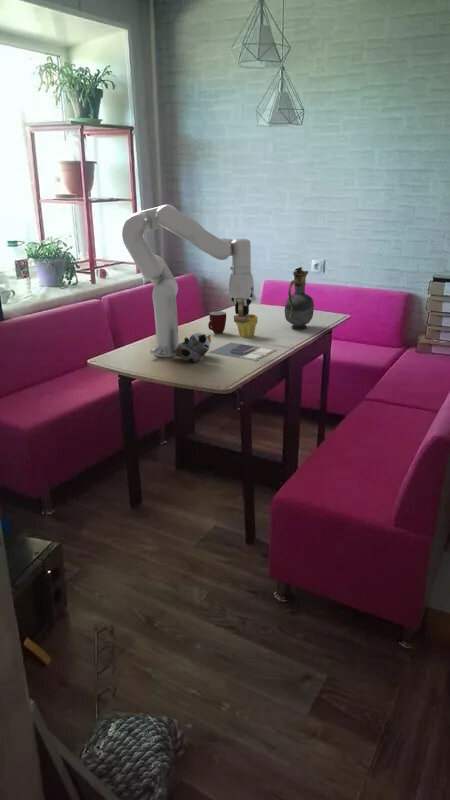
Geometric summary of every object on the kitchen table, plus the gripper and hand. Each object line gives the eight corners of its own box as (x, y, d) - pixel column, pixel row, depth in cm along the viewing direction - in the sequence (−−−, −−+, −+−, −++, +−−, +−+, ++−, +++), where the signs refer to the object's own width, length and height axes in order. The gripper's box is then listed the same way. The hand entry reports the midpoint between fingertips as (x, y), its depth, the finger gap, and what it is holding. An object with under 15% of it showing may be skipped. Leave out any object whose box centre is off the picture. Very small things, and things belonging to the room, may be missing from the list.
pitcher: (315, 325, 296) (317, 264, 285) (298, 334, 281) (300, 270, 271) (296, 323, 302) (297, 263, 291) (278, 331, 287) (278, 269, 276)
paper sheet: (255, 360, 243) (255, 359, 243) (239, 357, 248) (239, 356, 247) (276, 349, 256) (276, 349, 256) (260, 347, 261) (260, 346, 260)
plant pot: (231, 338, 279) (231, 317, 275) (241, 332, 287) (241, 312, 284) (251, 340, 274) (251, 319, 270) (261, 334, 283) (261, 314, 279)
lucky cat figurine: (184, 353, 258) (199, 324, 254) (206, 367, 253) (221, 338, 250) (167, 352, 244) (182, 322, 240) (189, 367, 240) (204, 337, 236)
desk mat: (255, 362, 243) (255, 360, 243) (208, 353, 256) (208, 352, 256) (277, 351, 257) (277, 349, 257) (231, 343, 270) (231, 342, 269)
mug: (217, 337, 280) (217, 316, 276) (203, 335, 284) (203, 315, 281) (229, 332, 288) (229, 312, 285) (216, 330, 292) (215, 310, 289)
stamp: (243, 323, 248) (243, 296, 244) (233, 321, 251) (233, 295, 247) (250, 320, 252) (250, 294, 248) (240, 319, 255) (240, 293, 251)
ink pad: (244, 354, 251) (244, 351, 250) (230, 352, 254) (230, 349, 254) (255, 349, 258) (255, 346, 257) (241, 347, 261) (241, 343, 261)
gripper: (219, 270, 245) (220, 313, 252) (253, 273, 236) (254, 318, 243) (229, 267, 251) (230, 310, 257) (263, 270, 242) (263, 314, 249)
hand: (242, 313), depth 250 cm, fingers closed on stamp, 3 cm apart
